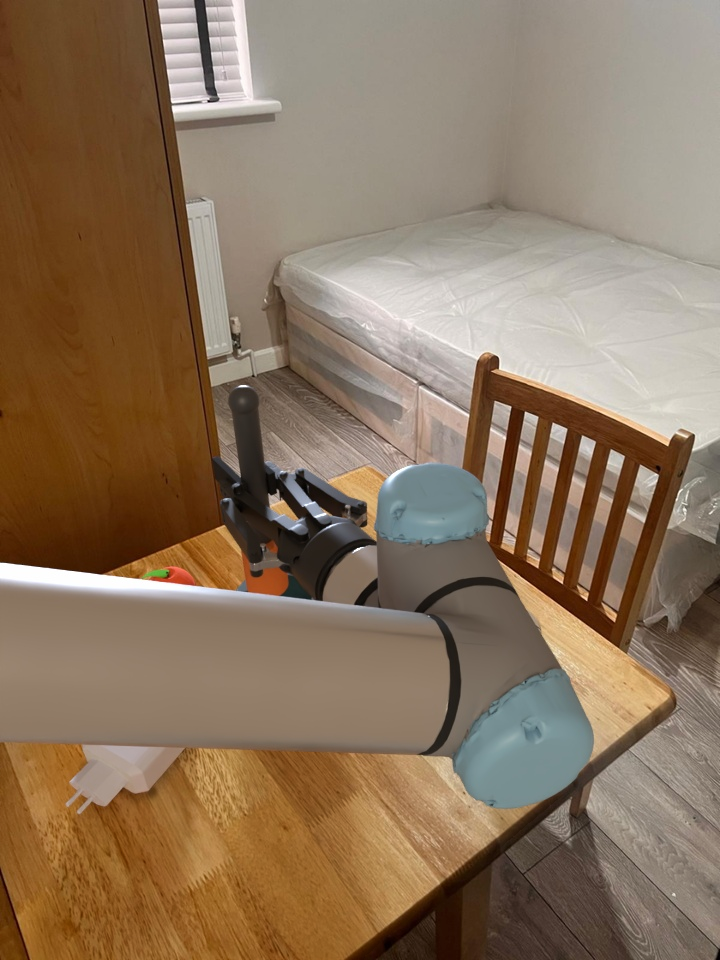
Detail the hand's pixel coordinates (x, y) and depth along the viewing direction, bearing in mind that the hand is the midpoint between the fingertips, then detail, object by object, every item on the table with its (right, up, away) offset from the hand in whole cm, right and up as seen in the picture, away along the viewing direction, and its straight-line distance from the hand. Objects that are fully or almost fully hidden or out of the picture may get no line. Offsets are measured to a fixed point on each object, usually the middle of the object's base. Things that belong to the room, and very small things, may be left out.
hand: (230, 462), depth 80 cm
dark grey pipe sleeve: (+4, -26, +18) cm, 31 cm away
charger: (-13, -35, +5) cm, 38 cm away
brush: (+4, -14, +4) cm, 15 cm away
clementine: (-13, -21, +26) cm, 35 cm away
